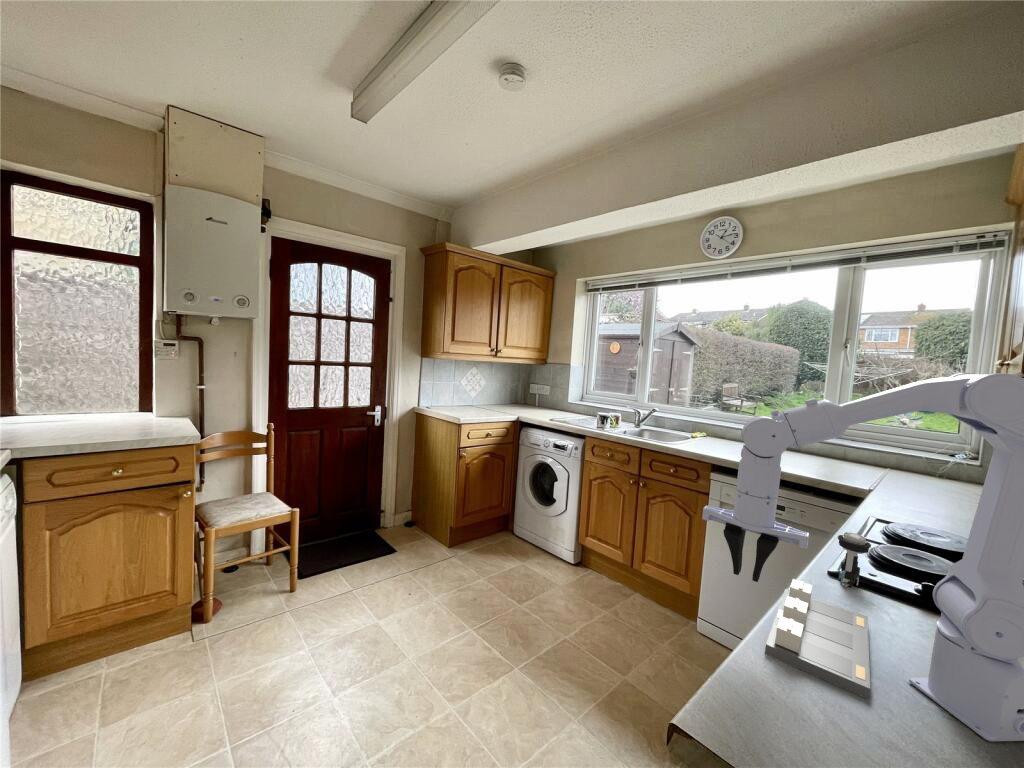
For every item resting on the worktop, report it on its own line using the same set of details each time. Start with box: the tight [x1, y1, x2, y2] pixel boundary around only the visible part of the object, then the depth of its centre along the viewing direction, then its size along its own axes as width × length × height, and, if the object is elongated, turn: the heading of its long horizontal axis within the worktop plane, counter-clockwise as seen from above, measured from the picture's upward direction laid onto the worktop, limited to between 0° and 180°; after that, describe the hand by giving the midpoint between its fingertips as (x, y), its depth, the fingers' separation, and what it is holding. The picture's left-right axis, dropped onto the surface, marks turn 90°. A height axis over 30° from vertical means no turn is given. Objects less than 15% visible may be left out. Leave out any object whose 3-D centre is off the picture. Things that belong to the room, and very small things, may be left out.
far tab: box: [789, 578, 813, 608], centre depth 77 cm, size 4×3×3 cm
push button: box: [837, 531, 872, 588], centre depth 87 cm, size 7×5×10 cm
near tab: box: [775, 616, 804, 653], centre depth 64 cm, size 4×3×3 cm
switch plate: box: [764, 588, 871, 700], centre depth 68 cm, size 22×12×2 cm, turn 141°
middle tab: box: [783, 596, 808, 628], centre depth 70 cm, size 4×3×3 cm
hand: (746, 575), depth 68 cm, fingers closed
